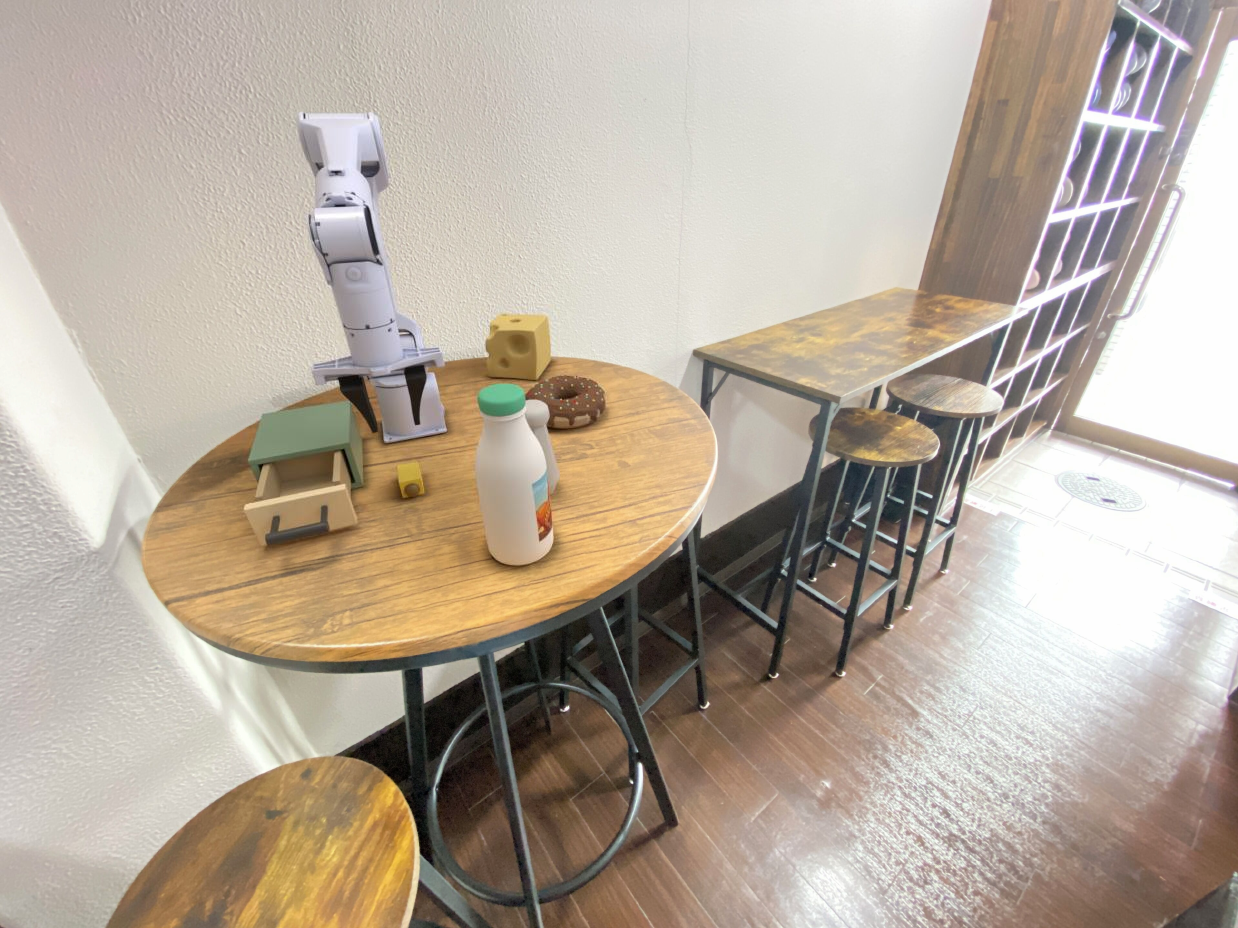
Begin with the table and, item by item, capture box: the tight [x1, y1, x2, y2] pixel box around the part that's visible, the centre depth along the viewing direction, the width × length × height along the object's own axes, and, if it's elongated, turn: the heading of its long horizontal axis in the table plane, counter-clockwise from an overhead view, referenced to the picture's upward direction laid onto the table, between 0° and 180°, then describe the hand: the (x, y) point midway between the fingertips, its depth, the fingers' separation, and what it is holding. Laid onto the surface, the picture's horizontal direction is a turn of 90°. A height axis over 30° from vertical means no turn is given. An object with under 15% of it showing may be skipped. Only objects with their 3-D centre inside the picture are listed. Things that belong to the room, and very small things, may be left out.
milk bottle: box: [474, 382, 554, 566], centre depth 58 cm, size 8×8×20 cm
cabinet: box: [247, 399, 364, 490], centre depth 75 cm, size 14×12×7 cm
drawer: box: [243, 449, 358, 547], centre depth 65 cm, size 17×10×5 cm, turn 23°
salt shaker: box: [524, 400, 561, 496], centre depth 69 cm, size 6×6×13 cm
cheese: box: [484, 312, 552, 381], centre depth 105 cm, size 10×11×10 cm
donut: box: [525, 374, 607, 430], centre depth 90 cm, size 14×14×5 cm
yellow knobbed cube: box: [396, 461, 426, 499], centre depth 73 cm, size 3×6×3 cm, turn 23°
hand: (396, 425), depth 69 cm, fingers open, 4 cm apart
